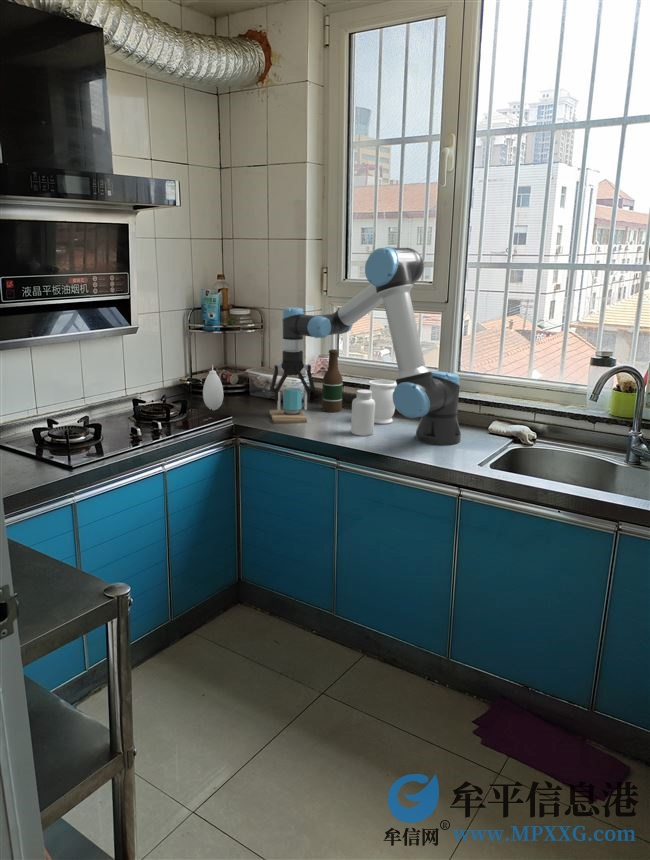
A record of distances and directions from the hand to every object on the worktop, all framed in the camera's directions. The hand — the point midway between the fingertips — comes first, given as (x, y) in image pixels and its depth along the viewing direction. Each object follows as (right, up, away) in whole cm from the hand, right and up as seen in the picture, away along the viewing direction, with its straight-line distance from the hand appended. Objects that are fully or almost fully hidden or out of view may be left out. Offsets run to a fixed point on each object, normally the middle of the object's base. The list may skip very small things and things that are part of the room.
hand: (292, 409), depth 252 cm
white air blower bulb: (-31, 0, +8) cm, 32 cm away
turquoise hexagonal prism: (0, 0, 0) cm, 0 cm away
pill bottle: (+25, -9, -20) cm, 34 cm away
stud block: (-2, -3, -1) cm, 4 cm away
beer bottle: (+15, 0, +12) cm, 19 cm away
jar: (+33, -5, -4) cm, 34 cm away
